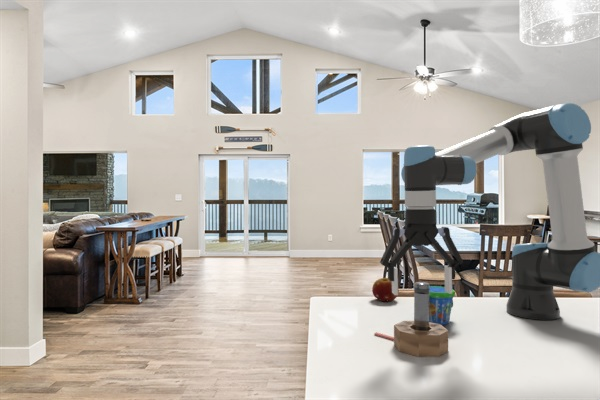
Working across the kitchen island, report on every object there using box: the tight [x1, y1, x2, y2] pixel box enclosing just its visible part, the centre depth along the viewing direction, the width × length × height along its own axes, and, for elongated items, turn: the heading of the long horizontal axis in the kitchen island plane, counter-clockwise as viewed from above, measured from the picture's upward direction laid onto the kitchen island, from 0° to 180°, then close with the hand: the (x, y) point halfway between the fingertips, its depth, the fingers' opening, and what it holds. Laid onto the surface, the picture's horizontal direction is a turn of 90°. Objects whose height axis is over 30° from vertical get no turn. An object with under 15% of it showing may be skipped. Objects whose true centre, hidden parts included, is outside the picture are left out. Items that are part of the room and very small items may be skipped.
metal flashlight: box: [413, 281, 430, 331], centre depth 103 cm, size 4×4×16 cm
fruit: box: [371, 277, 400, 302], centre depth 153 cm, size 10×9×8 cm
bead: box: [393, 320, 449, 358], centre depth 103 cm, size 12×12×5 cm
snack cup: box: [429, 285, 456, 326], centre depth 125 cm, size 16×10×10 cm
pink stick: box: [374, 332, 394, 342], centre depth 109 cm, size 12×1×1 cm, turn 43°
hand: (421, 293), depth 103 cm, fingers open, 13 cm apart
